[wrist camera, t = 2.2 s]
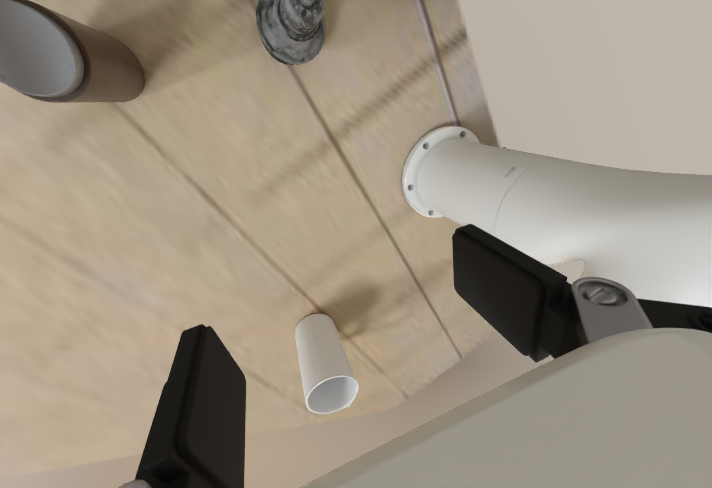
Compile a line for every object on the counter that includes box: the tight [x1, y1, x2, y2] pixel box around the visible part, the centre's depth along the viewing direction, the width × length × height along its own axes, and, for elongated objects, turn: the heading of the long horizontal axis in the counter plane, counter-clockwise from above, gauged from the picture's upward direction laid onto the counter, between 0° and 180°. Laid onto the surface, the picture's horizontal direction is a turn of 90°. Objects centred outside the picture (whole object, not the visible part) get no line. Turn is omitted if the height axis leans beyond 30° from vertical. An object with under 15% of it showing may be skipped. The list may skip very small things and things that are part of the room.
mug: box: [295, 314, 359, 414], centre depth 40 cm, size 10×7×12 cm, turn 24°
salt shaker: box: [256, 0, 326, 65], centre depth 22 cm, size 6×6×12 cm
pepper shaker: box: [0, 0, 145, 102], centre depth 20 cm, size 5×5×11 cm
